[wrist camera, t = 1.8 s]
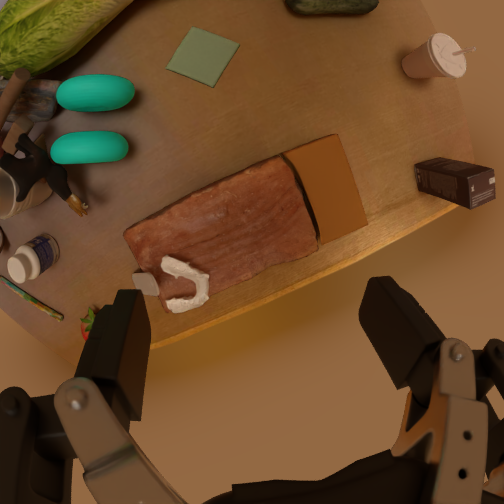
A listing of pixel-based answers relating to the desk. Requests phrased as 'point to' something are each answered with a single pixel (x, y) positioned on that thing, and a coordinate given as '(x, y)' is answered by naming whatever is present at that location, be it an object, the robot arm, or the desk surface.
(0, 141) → the pinkish white round bulb
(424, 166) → the box
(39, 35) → the lettuce
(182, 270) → the false teeth
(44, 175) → the figurine
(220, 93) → the desk surface
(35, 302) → the pencil
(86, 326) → the fruit
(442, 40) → the smoothie
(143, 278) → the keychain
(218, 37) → the mat
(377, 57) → the desk surface
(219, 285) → the brown wooden flat board
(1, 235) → the tin
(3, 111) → the wood blocks
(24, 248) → the pill bottle
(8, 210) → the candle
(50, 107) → the stone
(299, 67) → the desk surface
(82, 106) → the donuts
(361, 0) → the vegetable
